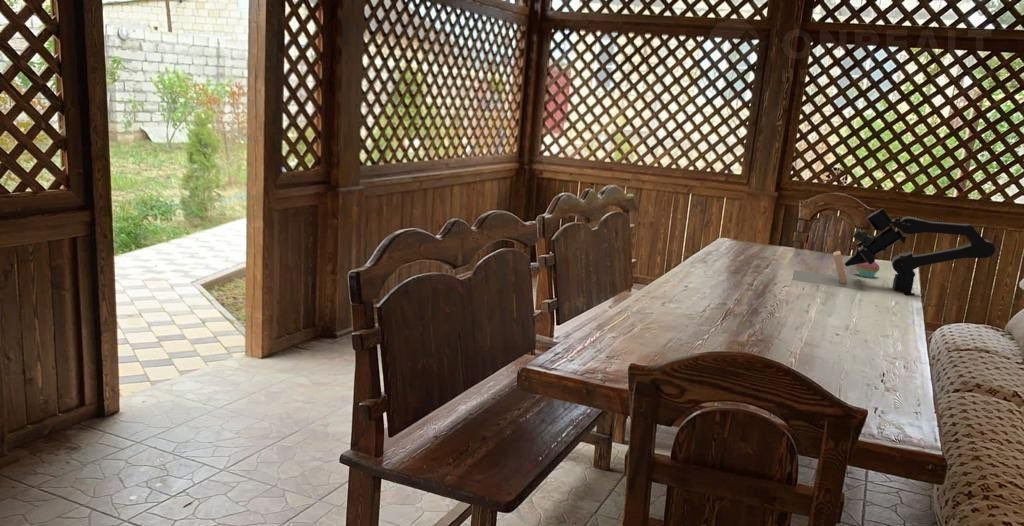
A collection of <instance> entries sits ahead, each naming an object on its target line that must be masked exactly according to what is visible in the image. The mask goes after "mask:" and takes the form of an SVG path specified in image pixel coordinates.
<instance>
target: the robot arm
mask: <svg viewBox="0 0 1024 526" xmlns="http://www.w3.org/2000/svg"><path fill="white" fill-rule="evenodd" d="M865 220H866V221H867V222H868V224H870V226H871V227H872V229H874V231H879V232H880V233H878V234H877V235H875V234H874V235H872V236H871V235H869V234H868V232H866V231H865V230H860V229H858V228H857V229H856V230H855V231H854V233H853V234H852V238H853V239H854V240H855V239H856V240H858V242H856V247H855V252H854V253H853V255H851V257H850V258H848V259H847V260H846V262H845V263H844V265H845V267H851V266H854V265H855V266H856V264H861V263H867V262H868V263H869V264H872V263H873V262H876V257H877V255H878V254H880V253H881V252H885V251H887V249H888V248H889V247H891V246H893V245H894V244H895V243H897V242H898V241H900V242H901V243H902V244H906V239H907V235H914V234H922V233H931V234H932V233H934V234H935V233H936V234H945V235H955V236H956V235H959V236H965V237H966V239H967V240H968V241H969V243H967V244H965V245H963V246H959V247H954V248H953V247H952V248H948V249H943V250H936V251H932V252H927V253H923V254H922V253H921V254H914V253H913V252H912V251H911V250H909V251H908V252H899V253H898V255H895V256H894V257H893V258H892V259H891V266H892V268H893V270H894V271H895V272H896V273H895V274H894V278H893V282H892V288H891V289H893V291H894V292H895V291H896V292H899V293H902V294H903V295H907V296H908V295H910V296H911V295H912V296H914V295H916V293H914V292H912V291H913V286H914V282H915V276H916V272H915V269H919V268H920V267H922V266H929V265H935V264H938V263H945V262H950V261H956V260H961V259H988V258H991V257H992V256H993V255H994V254H995V252H996V247H995V245H994V244H993V243H992V242H991V241H990V240H988V239H985V238H983V237H982V235H980V234H979V233H978V232H977V231H976V229H975V227H974V226H973V225H972V224H970V223H954V222H944V221H943V222H941V221H931V220H925V219H922V218H918V217H914V216H907V215H906V216H903V217H901V218H891V217H890V216H889V214H888V213H887V210H886V209H884V208H880V209H878V210H876V211H874V212H872V213H870V214H869V215H868V216H866V218H865ZM892 226H893V227H894V228H897V229H894V228H893V227H892ZM899 229H900V230H899ZM902 233H903V234H906V235H903V234H902ZM857 246H858V247H857Z"/></svg>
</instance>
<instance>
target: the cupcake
mask: <svg viewBox="0 0 1024 526" xmlns="http://www.w3.org/2000/svg"><path fill="white" fill-rule="evenodd" d="M855 267H856V269H857V271H858V276H859V277H863V278H868V279H869V278H870V279H872V278H874V277H875V275H876V274H877V273H878V272H879V271H880V265H879V264H878V263H877V262H876V261H875V262H873V263H872V264H869V263H868V262H867V263H861V264H856V265H855Z"/></svg>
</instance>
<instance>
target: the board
mask: <svg viewBox="0 0 1024 526" xmlns="http://www.w3.org/2000/svg"><path fill="white" fill-rule="evenodd" d="M792 281H796V282H797V281H798V282H803V283H812V284H818V285H823V286H824V285H825V286H830V287H831V286H832V287H838V288H845V289H851V290H858V291H863V288H862V286H863V285H862V284H861V279H860V278H853V277H847V282H846V283H840V280H839V276H838V275H831V274H825V273H821V272H814V271H813V272H810V271H804V270H797V269H793V274H792Z"/></svg>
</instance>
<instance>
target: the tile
mask: <svg viewBox="0 0 1024 526" xmlns="http://www.w3.org/2000/svg"><path fill="white" fill-rule="evenodd" d="M833 259H834V263H835V267H836V271H837V276H839V280H840V283H846V282H847V278H848V277H847V273H846V270H845V269H846V268H845V266H844V265H845V264H844V261H843V257H842V253H841V250H837V251H834V252H833Z"/></svg>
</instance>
